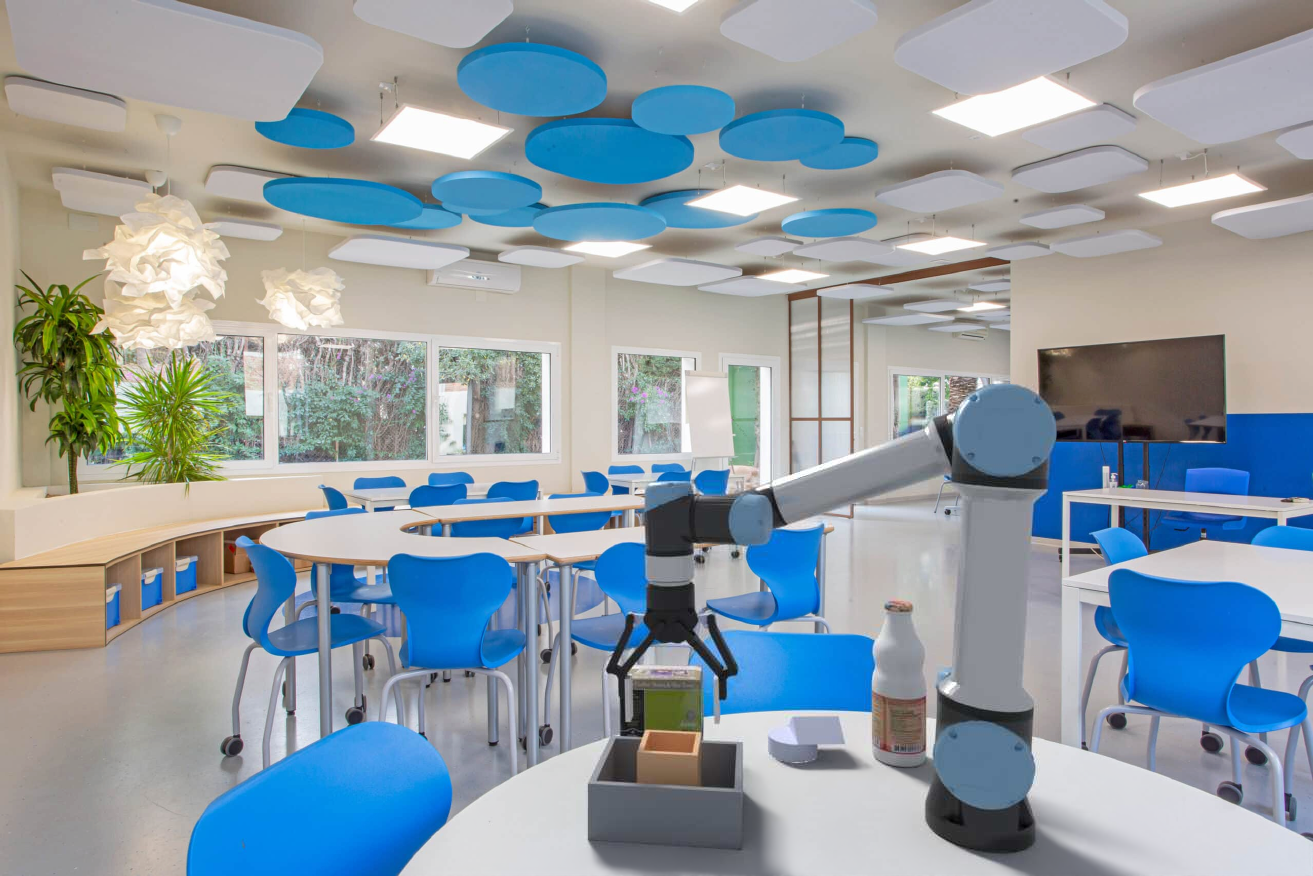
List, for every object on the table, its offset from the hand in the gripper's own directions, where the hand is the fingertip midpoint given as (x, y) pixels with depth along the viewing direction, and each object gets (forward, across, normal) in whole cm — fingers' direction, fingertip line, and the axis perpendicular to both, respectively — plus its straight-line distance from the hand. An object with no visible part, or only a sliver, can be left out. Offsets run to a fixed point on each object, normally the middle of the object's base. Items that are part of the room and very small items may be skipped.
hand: (673, 720), depth 116 cm
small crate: (+13, +1, 0) cm, 13 cm away
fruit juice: (+15, -38, -26) cm, 49 cm away
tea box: (+14, +5, -24) cm, 29 cm away
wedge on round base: (+15, -21, -26) cm, 37 cm away
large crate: (+14, +1, 0) cm, 14 cm away
